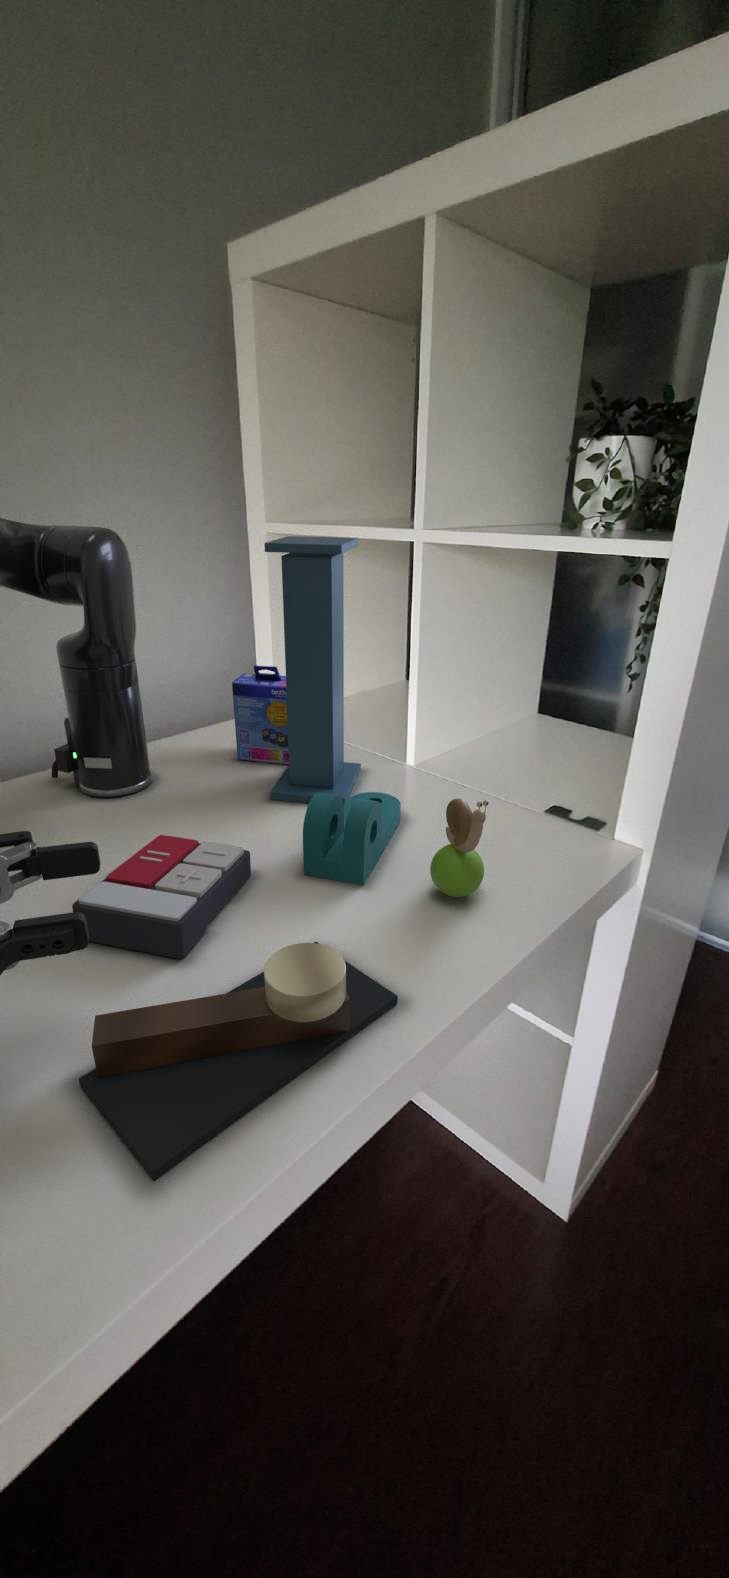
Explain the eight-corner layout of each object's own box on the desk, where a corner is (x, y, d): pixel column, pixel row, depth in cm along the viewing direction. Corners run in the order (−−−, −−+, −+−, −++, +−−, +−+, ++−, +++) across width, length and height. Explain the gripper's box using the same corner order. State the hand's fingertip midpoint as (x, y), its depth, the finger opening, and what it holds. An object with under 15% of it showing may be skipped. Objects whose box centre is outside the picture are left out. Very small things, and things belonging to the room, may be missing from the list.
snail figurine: (450, 917, 67) (458, 807, 62) (419, 884, 72) (425, 780, 67) (497, 905, 69) (509, 797, 64) (464, 874, 74) (472, 772, 69)
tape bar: (96, 1095, 46) (83, 1034, 44) (102, 1032, 52) (91, 974, 49) (354, 1045, 51) (354, 987, 48) (336, 991, 56) (335, 937, 54)
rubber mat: (153, 1181, 42) (152, 1172, 41) (80, 1086, 48) (78, 1077, 48) (397, 1003, 56) (398, 995, 56) (316, 948, 62) (315, 941, 62)
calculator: (251, 843, 72) (179, 917, 59) (252, 879, 74) (182, 959, 60) (158, 829, 75) (68, 897, 61) (161, 865, 76) (74, 938, 63)
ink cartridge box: (235, 761, 103) (228, 665, 97) (248, 748, 108) (242, 656, 102) (298, 766, 101) (295, 670, 95) (309, 753, 106) (306, 660, 100)
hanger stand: (344, 806, 89) (344, 545, 76) (270, 800, 91) (257, 543, 77) (360, 770, 100) (363, 537, 87) (294, 765, 101) (286, 535, 88)
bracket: (363, 885, 72) (364, 818, 69) (303, 874, 74) (301, 808, 71) (405, 812, 88) (408, 755, 84) (355, 804, 89) (355, 748, 86)
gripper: (-302, 952, 32) (71, 902, 36) (-173, 816, 44) (93, 790, 48) (-243, 1070, 35) (93, 1013, 39) (-138, 912, 48) (109, 881, 51)
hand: (93, 890), depth 44 cm, fingers open, 8 cm apart
